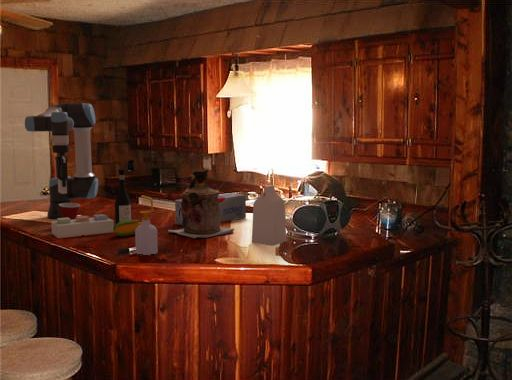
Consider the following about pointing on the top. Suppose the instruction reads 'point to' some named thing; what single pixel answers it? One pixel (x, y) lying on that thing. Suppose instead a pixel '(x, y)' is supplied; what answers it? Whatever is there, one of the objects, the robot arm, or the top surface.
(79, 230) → the console
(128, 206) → the wine bottle
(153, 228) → the soap bottle
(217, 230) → the cookie jar
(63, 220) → the sage green block
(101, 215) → the dusty blue block
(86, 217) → the terracotta block
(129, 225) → the corn
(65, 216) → the plastic cup
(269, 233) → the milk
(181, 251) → the top surface
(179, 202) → the soda pack
